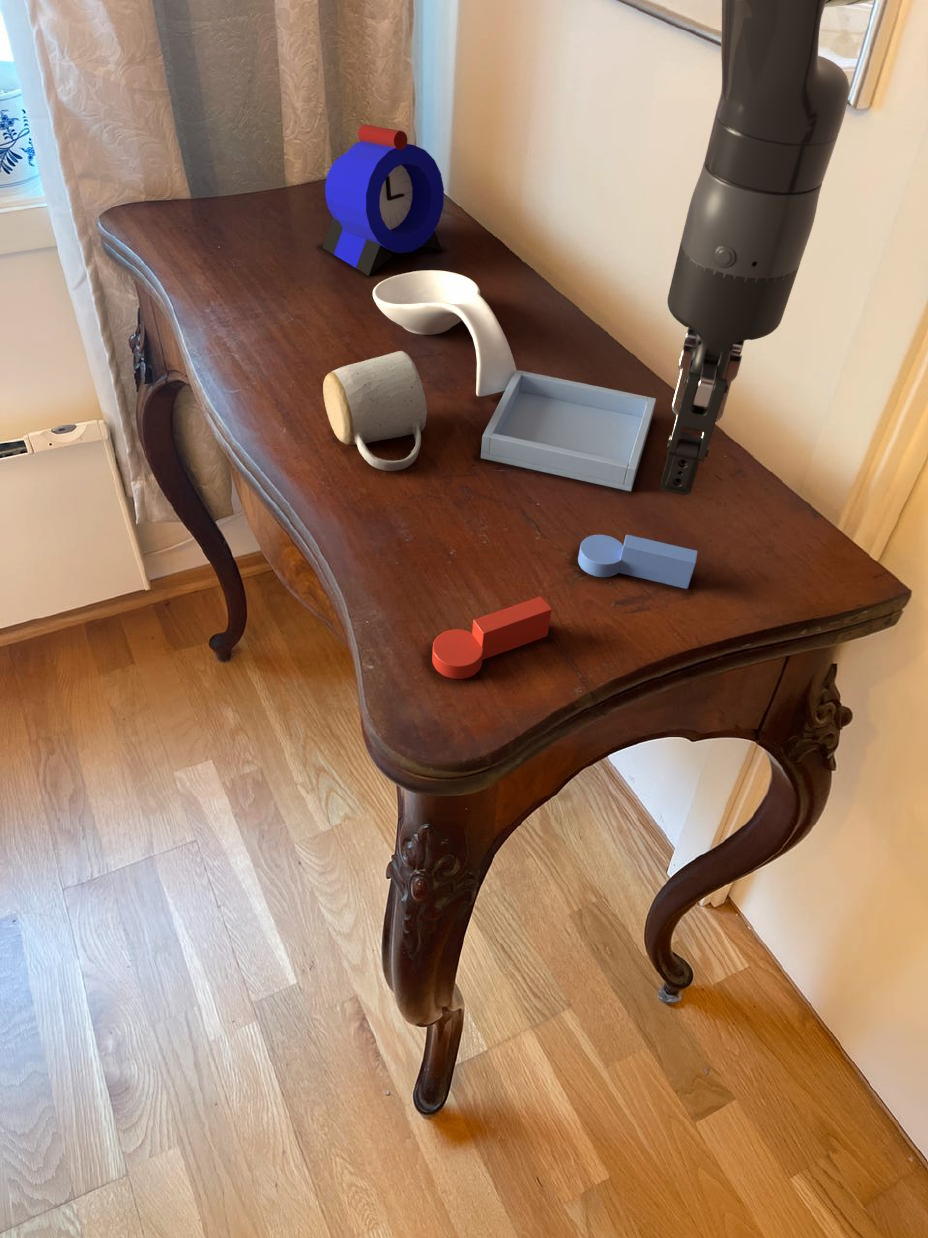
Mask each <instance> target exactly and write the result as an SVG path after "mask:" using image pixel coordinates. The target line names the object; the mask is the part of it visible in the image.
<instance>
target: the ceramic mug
mask: <svg viewBox="0 0 928 1238" xmlns="http://www.w3.org/2000/svg"><path fill="white" fill-rule="evenodd" d="M322 383H323V384H322V394H323V401H324V406H325V410H326V414H327V418H328V421H329V424H330V426H331V429H332V431H333V433H334V435H335V436H336V438H337V439H338V440H339V441H340V442H341V443H343V444H344V445H347V446H352V445H353V446H357V449H358V452H359V454H360V455H361V456H362V458H363V459H364V460H365V461H366V462H367V463H368V464H369V465H370V466H372V467H373V468H375V469H378V470H381V471H386V472H395V471H400V470H405V469H406V468H408V467H409V466H411V465H413V463H414V462H415V461H416V459H417V457H418V455H419V452H420V449H421V442H422V436H421V435H422V434H421V433H422V431H424V429H425V427H426V422H427V411H428V410H427V402H426V396H425V391H424V386H423V382H422V380H421V377H420V375H419V371H418V369H417V367H416V365H415V363H414V361H413V359H412V358H411V357H410V355H409V354H408V353H406V352H405V351H403V350H400V351H399V350H398V351H395V352H391V353H388V354H384V355H381V356H376V357H373V358H370V359H366V360H364V361H363V360H362V361H359V362H356V363H355V362H354V363H351V364H347V365H343V366H341V367H338V368H336V369H334V370H332V371H330V372H329V373H327V374H326V375H325V377H324V380H323V382H322ZM410 435H413V437H414V445H415V446H414V447H413V449H412V450H411V451H410V454H409V455H407V456H406V458H402V459H400V460H391V459H389V460H388V459H383V458H380V457H378V456H376V455H375V454H373V453H372V452H371V451H370V450H369V448H368V447H367V445H366V444H369V443H374V442H378V441H384V440H391V439H396V438H401V437H405V436H410Z"/></svg>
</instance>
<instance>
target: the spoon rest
mask: <svg viewBox="0 0 928 1238" xmlns="http://www.w3.org/2000/svg"><path fill="white" fill-rule="evenodd" d="M372 298H373V300H374V303H375V304H376V306H377V308H378V309H379V310H380V311H381V313H382V314H383V315H385V317H386V318H388V319H389V320H391V321H392V322H393V323H394V324H397V325H398V326H400V327H402V328H403V329H404V330H406V331H408V332H410V333H413V334H416V335H422V336H423V335H424V336H429V335H431V336H432V335H438V334H442V333H445V332H447V331H449V330H450V329H451V328H452V327H454V326H456V325H457V324H459V323H460V322H463V323H464V324H465V326H466V328H467V329H468V331H469V333H470V335H471V337H472V340H473V344H474V349H475V354H476V355H475V356H476V385H475V386H476V388H475V389H476V390H475V395H476V396H477V397H479V398H480V397H487V396H489V395H494V394H498V393H503V392H505V390H506V388H507V386H508V384H509V382H510V380H511V379H512V377H513V375H514V373H515V371H516V370H517V367H516V363H515V360H514V357H513V353H512V351H511V348H510V344H509V342H508V340H507V337H506V335H505V333H504V331H503V329H502V327H501V325H500V323H499V321H498V318H497V317H496V315H495V314H494V311H493V310H492V309H491V307H490V305H489V304H488V303H487V302H486V300H485V299H484V298H483V296H481V290H480V287H479V286H478V284H477V282H475V281H474V280H472V279H471V278H470V277H467V276H466V275H463V274H460V273H456V272H453V271H452V272H451V271H446V270H437V269H436V270H435V269H434V270H433V269H430V270H416V271H411V272H405V273H401V274H397V275H393V276H390V277H388V278H386V279H383V280H382V281H380V282H378V284H376V286H374V288H373V290H372Z"/></svg>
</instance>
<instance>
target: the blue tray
mask: <svg viewBox="0 0 928 1238" xmlns="http://www.w3.org/2000/svg"><path fill="white" fill-rule="evenodd" d="M656 403H657V398H656V397H651V396H646V395H643V394H642V395H641V394H636V393H632V392H626V391H622V390H617V389H613V388H607V387H602V386H597V385H594V384H593V385H592V384H588V383H583V382H578V381H573V380H568V379H564V378H560V377H559V378H558V377H554V376H548V375H544V374H539V373H534V372H529V371H525V370H519V369H516V371H515V373H514V375H513V377H512V379H511V380H510V382H509V384H508V386H507V388H506V390H505V391H503V394H502V397H501V398H500V400H499V402H498V405H497V406H496V408H495V409H494V412H493V414H492V416H491V417H490V420H489V422H488V424H487V426H486V428H485V430H484V432H483V434H482V437H481V447H480V448H481V450H480V459H483V460H488V461H492V462H497V463H500V464H505V465H510V466H515V467H519V468H524V469H528V470H533V471H538V472H542V473H545V474H551V475H554V476H559V477H564V478H569V479H573V480H578V481H582V482H587V483H591V484H594V485H595V484H596V485H599V486H603V487H609V488H614V489H618V490H621V491H627V492H632V491H633V488H634V487H633V486H634V483H635V480H636V476H637V473H638V469H639V466H640V462H641V458H642V455H643V452H644V448H645V445H646V441H647V437H648V433H649V431H650V426H651V424H652V419H653V414H654V412H655V407H656Z"/></svg>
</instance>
